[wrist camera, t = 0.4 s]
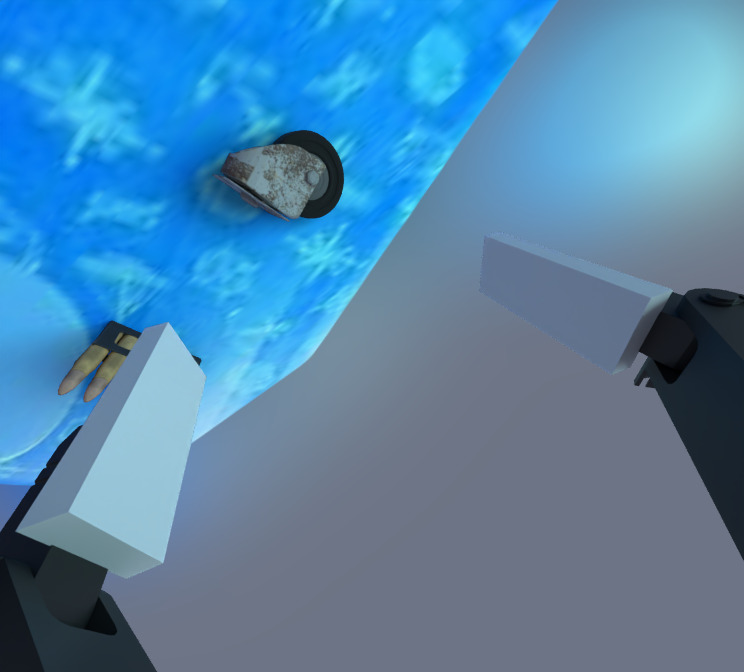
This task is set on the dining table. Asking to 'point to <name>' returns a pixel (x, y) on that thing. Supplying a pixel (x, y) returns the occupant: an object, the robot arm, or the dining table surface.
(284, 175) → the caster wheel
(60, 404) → the dining table surface
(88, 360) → the ammunition clip
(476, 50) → the dining table surface
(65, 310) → the dining table surface
